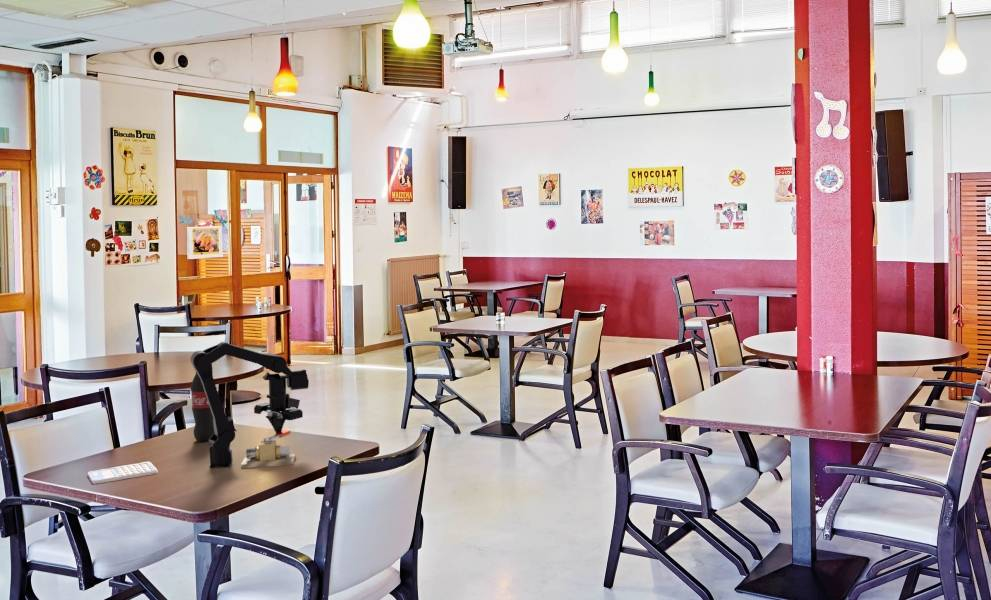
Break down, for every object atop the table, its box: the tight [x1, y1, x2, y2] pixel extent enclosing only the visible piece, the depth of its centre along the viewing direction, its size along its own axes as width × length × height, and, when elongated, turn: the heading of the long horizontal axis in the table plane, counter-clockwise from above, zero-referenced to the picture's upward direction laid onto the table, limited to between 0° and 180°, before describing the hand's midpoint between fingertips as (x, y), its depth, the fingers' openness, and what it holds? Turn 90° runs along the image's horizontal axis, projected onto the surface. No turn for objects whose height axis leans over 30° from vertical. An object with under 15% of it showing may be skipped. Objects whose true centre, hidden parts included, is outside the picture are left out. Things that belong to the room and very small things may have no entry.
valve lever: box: [263, 429, 291, 442], centre depth 313 cm, size 12×3×1 cm, turn 156°
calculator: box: [87, 461, 159, 485], centre depth 302 cm, size 13×20×2 cm, turn 121°
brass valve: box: [245, 439, 291, 462], centre depth 309 cm, size 14×5×6 cm, turn 97°
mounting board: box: [240, 453, 297, 469], centre depth 309 cm, size 17×9×1 cm, turn 97°
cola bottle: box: [190, 371, 215, 443], centre depth 343 cm, size 8×8×30 cm
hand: (278, 435), depth 317 cm, fingers closed
